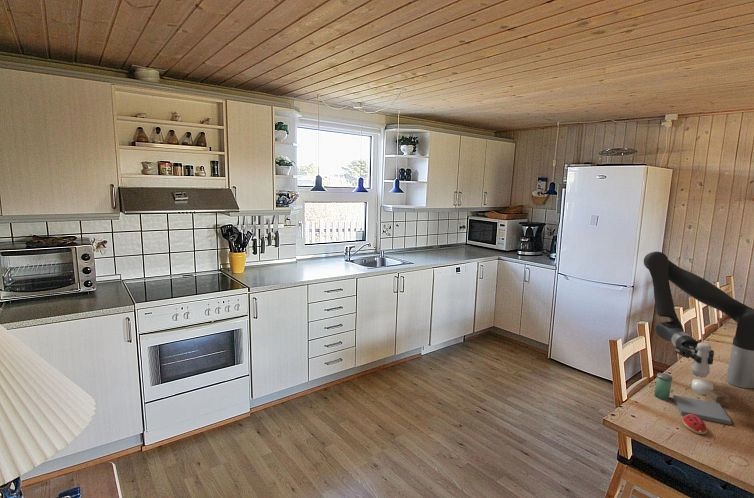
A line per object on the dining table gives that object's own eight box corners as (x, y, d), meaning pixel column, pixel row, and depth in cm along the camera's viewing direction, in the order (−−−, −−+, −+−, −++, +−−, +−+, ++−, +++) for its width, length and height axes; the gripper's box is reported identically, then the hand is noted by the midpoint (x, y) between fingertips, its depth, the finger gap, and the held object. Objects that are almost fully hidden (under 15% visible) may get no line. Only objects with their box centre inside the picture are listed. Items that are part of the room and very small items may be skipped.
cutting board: (718, 406, 163) (719, 403, 163) (730, 424, 151) (731, 421, 151) (672, 398, 169) (673, 394, 169) (681, 414, 157) (681, 411, 157)
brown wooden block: (718, 399, 169) (719, 390, 168) (727, 406, 164) (729, 397, 163) (705, 399, 169) (707, 390, 168) (715, 405, 164) (716, 396, 163)
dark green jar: (667, 395, 171) (670, 374, 170) (670, 401, 167) (673, 380, 165) (652, 392, 173) (655, 371, 172) (655, 398, 169) (658, 377, 167)
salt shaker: (705, 373, 163) (711, 342, 161) (711, 379, 158) (717, 348, 156) (687, 370, 165) (693, 339, 163) (692, 377, 160) (698, 345, 158)
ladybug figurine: (698, 421, 154) (699, 412, 153) (712, 437, 144) (714, 428, 143) (677, 418, 155) (678, 410, 154) (690, 434, 146) (691, 425, 145)
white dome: (709, 389, 177) (710, 380, 176) (714, 397, 170) (716, 388, 170) (689, 385, 179) (690, 377, 179) (693, 393, 173) (695, 384, 172)
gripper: (667, 333, 175) (686, 350, 159) (706, 337, 171) (729, 354, 155) (664, 349, 176) (682, 368, 160) (703, 354, 173) (725, 373, 157)
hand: (705, 361), depth 158 cm, fingers closed on salt shaker, 3 cm apart
